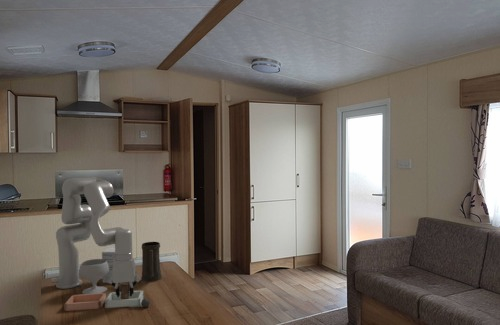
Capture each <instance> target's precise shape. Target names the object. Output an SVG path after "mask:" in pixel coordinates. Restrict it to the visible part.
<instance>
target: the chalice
mask: <svg viewBox="0 0 500 325" xmlns="http://www.w3.org/2000/svg"><path fill="white" fill-rule="evenodd" d="M108 272H109V266H108V263H107V261H106V260H104V259H102V258H93V259H88V260H85V261H83V262H81V264H80V265H79V277H80V278H81V279H82V280H86V281H89V282H90V283H91V284H92V286H91V287H87V288H85V289H83V290H82V291H81V293H82V294H97V293H105V292H106V291H107V290H108V287H106V286H103V285H102V286H101V285H99V286H97V283H98V282H99V281H100V280H101V279H103V277H104V276H106V275H107V273H108Z"/></svg>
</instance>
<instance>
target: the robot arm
mask: <svg viewBox="0 0 500 325" xmlns="http://www.w3.org/2000/svg"><path fill="white" fill-rule="evenodd" d="M62 183H63V184H62V186H61V191H62V192H61V193H62V198H63V201H62V209H61V222H62V223H63V224H64V226H61V227H59V228H58V229H57V230H56V232H55V240H56V242H57V249H58V251H57V252H58V272H59V274H58V275H59V276H58V277H52V278H51V279H50V281H51V283H56V284H55V285H56V288H57V289H60V290H61V289H62V290H64V289H65V290H66V289H73V288H77V287H79V286H81V285H82V284H83V279H80V275H79V269H80V265H79V264H80V263H79V261H80V258H79V250H78V249H79V248H77V246H76V244H75V243H78V242H83V241H87V240H88V239H89V238H90V237H91V236H92V239H93V241H94V242H95V244H96V245H97V246H98V247H107V246H111V245H114V248H115V254H114V255H112V258H115V260H114V261H113V268H112V276H111V277H110V279H109V280H108V284H110V285H111V286H112V287H113V288H114V289H115V292H116V295H117V297H119V296H120V292H121V286H120V284H125V283H128V284H129V291H130V297H131V296H132V294H133V293H134V291H135V290H134V287H135V286H136V285H137V284H139V282H140V281H142V277H140V275H139V274H138V273H137V270H136V263H135V262H136V261H135V258H133V232H132V230H131V229H126V228H123V227H119V226H117V227H110V228H104V229H102V227H101V225H100V218H102V217H104V216H105V215H106V214H108V213H109V211H110V210H111V206H110V204H109V201H108V199H107V198H111V197H112V196H113V195H114V192H115V191H114V190H115V189H114V187H113V185H112V183H110V181H108V180H105V179H102V178H99V177H98V176H97V177H96V176H89V177H88V176H87V177H74V178H73V177H72V178H67V179H66V180H64V182H62ZM81 195H84V197H85V199H86V201H87V204H82V198H81Z"/></svg>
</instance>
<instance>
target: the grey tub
mask: <svg viewBox="0 0 500 325" xmlns="http://www.w3.org/2000/svg"><path fill="white" fill-rule="evenodd" d="M106 298H107V299H106V300H105V302H104V308H105V309H111V308H120V307H121V308H125V307H129V308H139V307H141V306H142V304H141V302H142V300H143V299H145V298H144V290H134V293H133V294H132V296H131V297H130V290H129V299H122V300H121V291H120V296H119V297H117V295H116V291H115V292H114V291H112V292H109V294H108V296H106Z"/></svg>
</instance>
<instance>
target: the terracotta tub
mask: <svg viewBox="0 0 500 325" xmlns="http://www.w3.org/2000/svg"><path fill="white" fill-rule="evenodd" d="M106 299H107V292H102V293H97V294H83V293H82V294H72V295H71V296H70V298H68V300H66V302H65V303H64V311H65V312H66V311H67V312H68V311H69V312H70V311H82V310H95V309H96V310H98V309H102V307H103V306H104V305H105V300H106Z"/></svg>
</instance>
